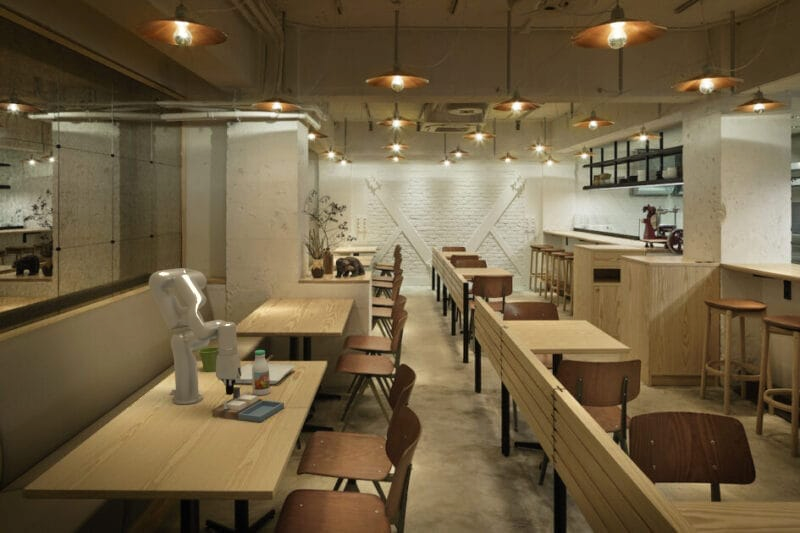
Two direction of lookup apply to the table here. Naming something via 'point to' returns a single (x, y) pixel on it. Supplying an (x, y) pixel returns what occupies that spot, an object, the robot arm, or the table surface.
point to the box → (261, 411)
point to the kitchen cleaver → (269, 358)
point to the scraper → (235, 397)
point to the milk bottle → (260, 374)
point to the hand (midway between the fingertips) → (230, 394)
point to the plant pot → (209, 358)
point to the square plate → (274, 373)
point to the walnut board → (230, 411)
